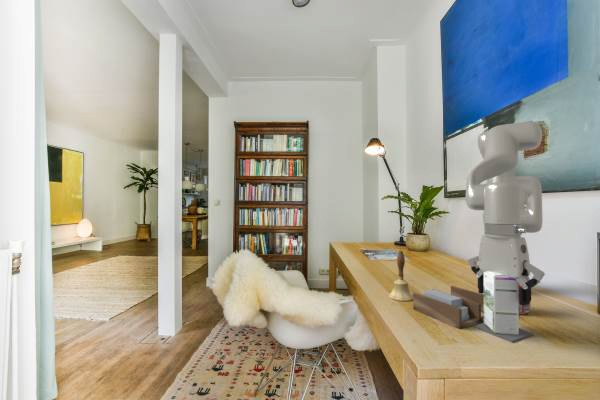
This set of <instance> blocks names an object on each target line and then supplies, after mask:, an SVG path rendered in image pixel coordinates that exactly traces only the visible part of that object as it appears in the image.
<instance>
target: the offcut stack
mask: <svg viewBox="0 0 600 400" xmlns="http://www.w3.org/2000/svg"><path fill="white" fill-rule="evenodd" d="M450 294H451V293H447V292H444V291H441V292H440V290H438V291H437V289H435V290H432V289H431V290H426V291H424V292H423V295H424V296H427V297H430V298H433V299H435V300H438V301H441V302H444V303H447V304H450V305H452V306H455V307H458V308H461V309H462V322H463V321H467V320H469V315H468V307H465V306H462V298H459V297H456V296H453V295H450Z"/></svg>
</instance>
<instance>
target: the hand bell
mask: <svg viewBox="0 0 600 400" xmlns="http://www.w3.org/2000/svg"><path fill="white" fill-rule="evenodd" d="M396 263H397V264H396V265H397V268H398V276H397V277H398V278H397V280H394V282H393V286H392V290H391V292H389V294H388V297H389V299H392V300H394V301H398V302H412V301H413V294H412V293H411V291H410V288H409V284H408V281H406V280H405V279H404V268H405V263H406V259H405V256H404V251H402V250H399V251H398V253H397V256H396Z"/></svg>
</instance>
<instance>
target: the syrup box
mask: <svg viewBox="0 0 600 400" xmlns="http://www.w3.org/2000/svg"><path fill="white" fill-rule="evenodd" d="M483 295H484V312H483V316H484V322H483V323H484V324H485V325H486V326H487V327H488V328H490V329H491V330H492V331H493V332H494V333H500V334H511V335H518V334H519V327H520V326H519V325H520V321H519V315H520V314H519V302H518V282H517V280H516V279H513V278H509V277H508V276H507V275H506V274H501V273H495V272H488V271H487V272H484V293H483Z"/></svg>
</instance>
